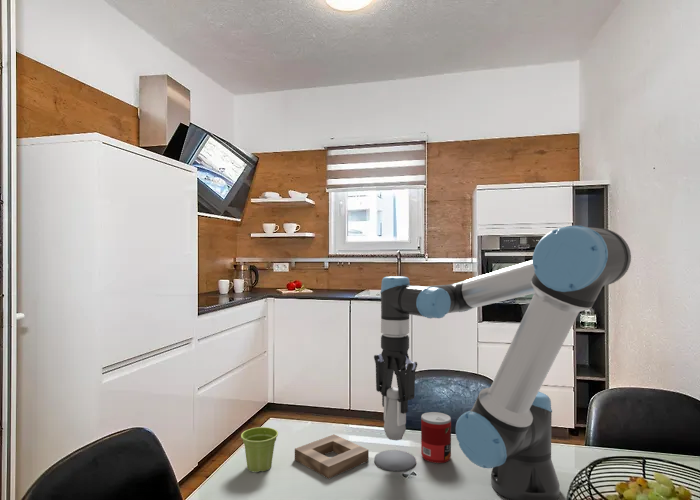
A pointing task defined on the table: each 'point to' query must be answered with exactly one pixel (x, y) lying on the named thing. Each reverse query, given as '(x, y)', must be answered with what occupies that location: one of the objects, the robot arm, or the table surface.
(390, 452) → the coaster
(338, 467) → the collar block
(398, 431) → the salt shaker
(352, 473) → the table surface
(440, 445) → the canned food
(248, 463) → the plant pot
